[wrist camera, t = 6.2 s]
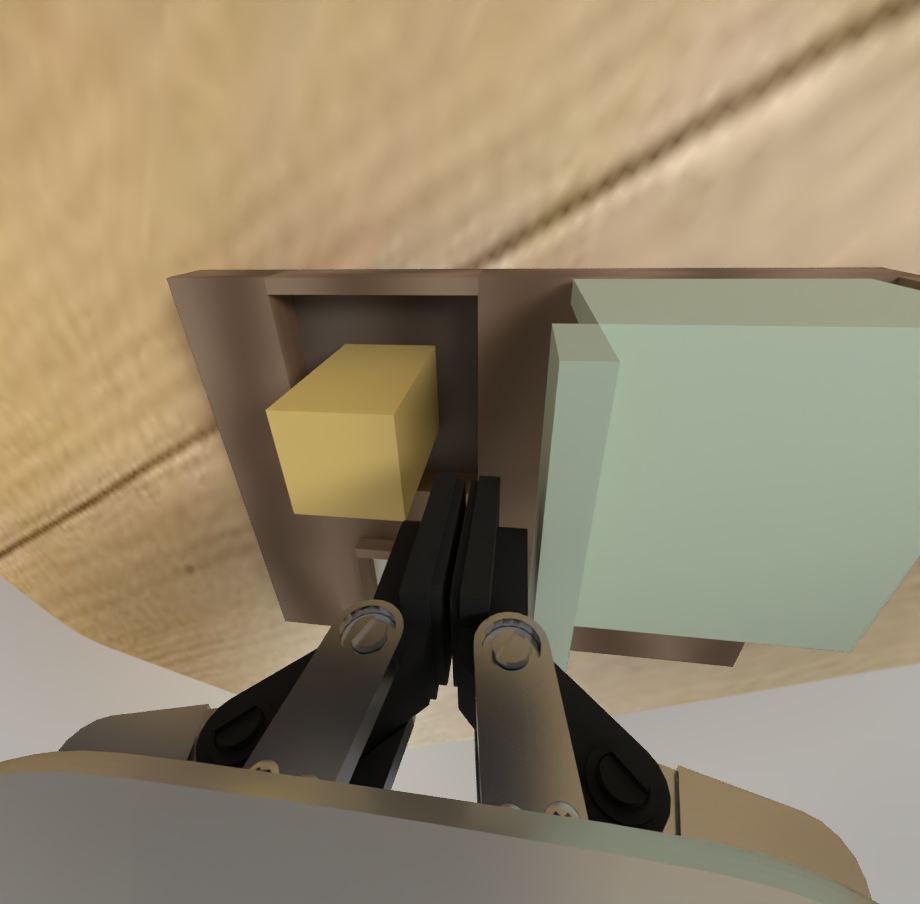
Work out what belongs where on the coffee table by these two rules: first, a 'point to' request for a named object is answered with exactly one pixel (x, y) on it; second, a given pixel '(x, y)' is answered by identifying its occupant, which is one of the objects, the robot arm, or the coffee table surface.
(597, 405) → the cover
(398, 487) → the block
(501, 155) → the coffee table surface
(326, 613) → the puzzle board
